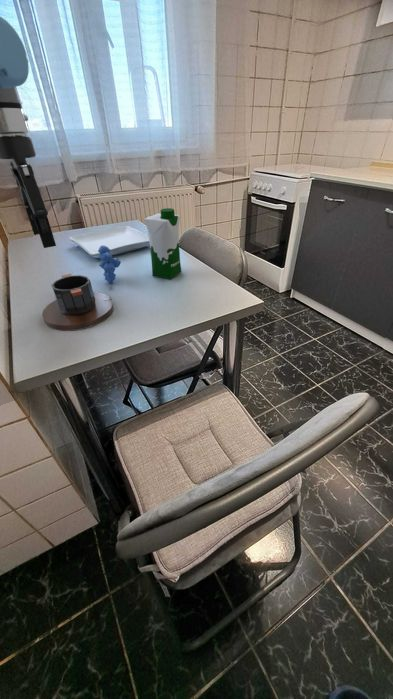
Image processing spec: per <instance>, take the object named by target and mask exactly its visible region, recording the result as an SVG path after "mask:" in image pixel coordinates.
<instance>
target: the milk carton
mask: <svg viewBox="0 0 393 699" xmlns="http://www.w3.org/2000/svg"><path fill="white" fill-rule="evenodd" d="M180 218H181V216H180V215H179V214H175V209H174V208H169V207H167V208H161V209H160V212H159V213H156V214H153V215H150V216H148V217H145V218H144V219H143V220H144V223H145V226H146V229H147V233H148V234H147V235H149V243H150V245H149V250H150V259H151V260H150V261H151V271H152V272H151V275H152V277H156V278H161V279H166V280H168V281H169V280H172V279H174V278H175V277H176V276H178V275H179V274H181V273H182V265H181V264H182V263H181V253H180V252H181V251H180V238H179V236H180V235H179V227H180Z"/></svg>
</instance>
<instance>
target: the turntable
mask: <svg viewBox="0 0 393 699" xmlns="http://www.w3.org/2000/svg"><path fill="white" fill-rule="evenodd" d="M93 293H94V297H95V303H96V305H95V307H94V308H93V309H91V310H90V311H88V312H85V313H82V314H78V315H67V314H64V313H62V312H61V311H60V308H59V305H58V303H57V300H56V299H55V300H53V301H52V302H50V303H48V304H47V305H46V306H45V307H44V309H43V311H42V313H41V317H42V319H43V322H44V324H45V325H46V326H47V327H49V328H51V329H53V330H58V331H76V330H83V329H87V328H91V327H93V326H96V325H98V324H100V323H102V322H104V321H106V320H107V319H108V318H109V317H110V316H112V314H113V312H114V310H115V305H114V301H113V298H112V297H111V296H109V295H107V294H105V293H101V292H94V291H93Z"/></svg>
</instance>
